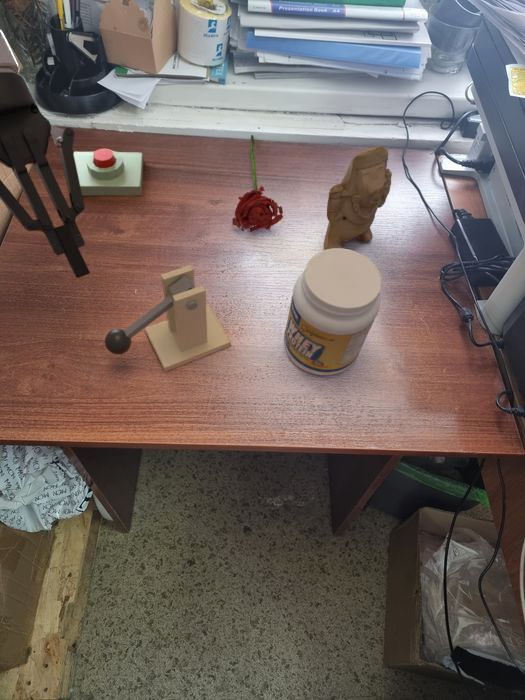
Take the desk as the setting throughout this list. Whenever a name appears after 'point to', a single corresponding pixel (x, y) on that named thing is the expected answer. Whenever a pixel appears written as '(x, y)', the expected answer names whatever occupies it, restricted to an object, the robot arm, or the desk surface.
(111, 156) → the stop button
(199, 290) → the switch bracket
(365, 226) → the figurine
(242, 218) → the flower
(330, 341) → the supplement tub
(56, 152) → the desk surface
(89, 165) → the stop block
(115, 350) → the switch lever
